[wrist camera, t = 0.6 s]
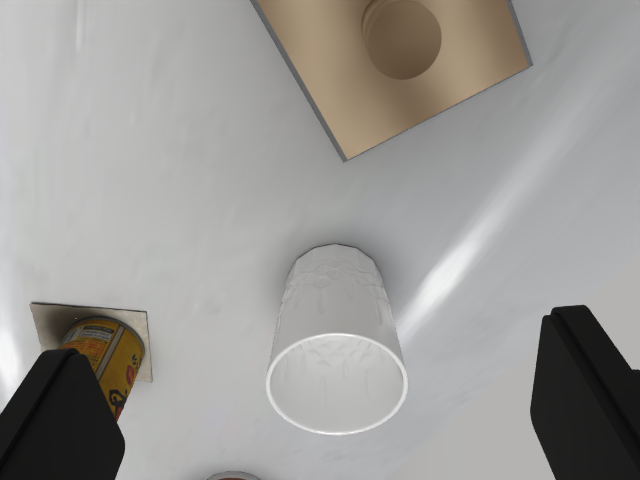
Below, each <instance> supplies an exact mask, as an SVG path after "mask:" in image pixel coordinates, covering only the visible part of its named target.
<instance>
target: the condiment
mask: <svg viewBox="0 0 640 480" xmlns="http://www.w3.org/2000/svg"><path fill="white" fill-rule="evenodd" d="M29 305H30V308H31V312H32V313H33V318H34V321H35V326H36V329H37V332H38V337H39V342H40V344H41V351H42V352H44V351H46V350H51V349H63V348H75V349H77V350H78V351H79V353H80V354H84V355H86V356H87V358H88V360H89V362H90V364H91V366H92V368H93V371H94V373H95V375H96V377H97V380H98V382H99V384H100V386H101V388H102V391H103V393H104V395H105V397H106V399H107V402H108V404H109V406H110V408H111V411H112V413H113V415H114V417H115V419H116V422H117V421H118V419H119V416H120V414H121V412H122V410H123V408H124V404H125V403H126V400H127V397H128V395H129V393H130V391H131V389H132V387H133V384H134V381H135V380H140V381H148V382H151V383H152V374H151V359H150V348H149V338H148V329H147V320H146V313H144V312H134V311H125V310H113V309H104V308H102V309H99V308H86V307H83V308H75V307H70V306H59V305H38V304H29ZM75 318H77V319H75Z"/></svg>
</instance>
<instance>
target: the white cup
mask: <svg viewBox="0 0 640 480" xmlns="http://www.w3.org/2000/svg"><path fill="white" fill-rule="evenodd" d="M407 390H408V377H407V372H406V368H405V364H404V360H403V356H402V352H401V348H400V344H399V339H398V335H397V331H396V327H395V323H394V319H393V315H392V312H391V309H390V304H389V301H388V297H387V294H386V292H385V289H384V285H383V281H382V277H381V275H380V273H379V271H378V269H377V267H376V265H375V263H374V261H373V260H372V259H371V258H369V257H368V256H367V255H365V254H364V253H362V252H361V251H359V250H358V249H357V248H352V247H347V246H342V245H337V244H333V245H327V246H322V247H317V248H313V249H312V250H310V251H309V252H307V253H306V254H304V255H303V256H301V257H300V258H298V259H297V260H296V262H295V264H294V266H293V267H292V269H291V271H290V273H289V275H288V278H287V283H286V289H285V293H284V296H283V299H282V302H281V307H280V313H279V316H278V320H277V324H276V329H275V335H274V340H273V345H272V351H271V356H270V361H269V366H268V371H267V376H266V392H267V396H268V399H269V401H270V403H271V405H272V406H273V408H274V409H275V410H276V411H277V413H278V414H279V415H280V416H282V417H283V418H284V419H285V420H287V421H288V422H290V423H291V424H293V425H295V426H297V427H299V428H301V429H304V430H307V431H310V432H314V433H318V434H324V435H349V434H355V433H360V432H363V431H366V430H369V429H372V428H374V427H376V426H378V425H380V424H382V423H384V422H385V421H387V420H388V419H389V418H391V417H392V416H393V415H394V414H395V413H396V412H397V411H398V409H399V408H400V407H401V405H402V404H403V402H404V400H405V397H406V395H407Z"/></svg>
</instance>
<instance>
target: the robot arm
mask: <svg viewBox="0 0 640 480" xmlns="http://www.w3.org/2000/svg"><path fill="white" fill-rule="evenodd" d="M530 414H531V420H532V424H533V427H534V429H535V432H536V434H537V437H538V439H539V441H540V444H541V446H542V448H543V450H544V453H545V455H546V458H547V460H548V462H549V465H550V467H551V469H552V472H553V474H554V477H555V479H556V480H640V370H632V369H631V368H630V366H629V365H628V363H627V362H626V361H625V359H624V358H623V356H622V355H621V354H620V352H619V351H618V349H617V348H616V347H615V346H614V344H613V342H612V341H611V339H610V338H609V337H608V335H607V334H606V332H605V331H604V330H603V328H602V327H601V325H600V324H599V322H598V321H597V319H596V318H595V317H594V315H593V314H592V312H591V311H590V310H589V308H588V307H587V306H585V305H575V306H563V307H555V308H553V309H552V311H551V315H545V316H544V317H543V319H542V325H541V332H540V340H539V347H538V355H537V362H536V370H535V377H534V384H533V392H532V400H531V407H530ZM124 452H125V440H124V437H123V435H122V433H121V430H120V428H119V426H118V424H117V422H116V419H115V417H114V415H113V413H112V411H111V408H110V406H109V404H108V402H107V399H106V397H105V395H104V393H103V391H102V388H101V386H100V384H99V382H98V380H97V377H96V375H95V373H94V371H93V368H92V366H91V364H90V362H89V360H88V358H87V356H86V355H84V354H80V353H79V351H78V350H77V349H75V348H63V349H51V350H46V351H44V352H42V354H41V355H40V356H39V357H38V359H37V360H36V362H35V363H34V365H33V366H32V368H31V369H30V371H29V372H28V374H27V375H26V377H25V378H24V380H23V381H22V383H21V384H20V386H19V387H18V389H17V390H16V392H15V393H14V395H13V396H12V398H11V399H10V401H9V402H8V404H7V405H6V407H5V408H4V410H3V412H2V413H1V415H0V480H115V478H116V475H117V472H118V470H119V467H120V464H121V462H122V459H123V456H124Z"/></svg>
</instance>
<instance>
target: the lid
mask: <svg viewBox="0 0 640 480" xmlns="http://www.w3.org/2000/svg"><path fill="white" fill-rule="evenodd" d="M257 2H258V3H259V5H260V7H261V9H262V10H263V12H264V14H265V16H266V17H267V19H268V21H269V23H270V24H271V26H272V28H273V30H274V31H275V33H276V35H277V37H278V38H279V40H280V42H281V44H282V45H283V47H284V49H285V51H286V52H287V54H288V56H289V58H290V59H291V61H292V63H293V65H294V66H295V68H296V70H297V72H298V73H299V75H300V77H301V79H302V80H303V82H304V84H305V86H306V88H307V89H308V91H309V93H310V95H311V96H312V98H313V100H314V102H315V103H316V105H317V107H318V109H319V110H320V112H321V114H322V116H323V117H324V119H325V121H326V123H327V124H328V126H329V128H330V130H331V131H332V133H333V135H334V137H335V138H336V140H337V142H338V144H339V145H340V147H341V149H342V151H343V152H344V154H345V156H346V158H347V159H350V158H352V157H354V156H356V155H358V154H360V153H362V152H364V151H366V150H368V149H370V148H372V147H374V146H376V145H378V144H379V143H381V142H383V141H385V140H387V139H389V138H391V137H393V136H395V135H397V134H399V133H401V132H403V131H405V130H407V129H409V128H411V127H412V126H414V125H416V124H418V123H420V122H422V121H424V120H426V119H428V118H430V117H432V116H434V115H436V114H438V113H440V112H442V111H443V110H445V109H447V108H449V107H451V106H453V105H455V104H457V103H459V102H461V101H463V100H465V99H467V98H469V97H471V96H473V95H475V94H476V93H478V92H480V91H482V90H484V89H486V88H488V87H490V86H492V85H494V84H496V83H498V82H500V81H502V80H504V79H506V78H507V77H509V76H511V75H513V74H515V73H517V72H519V71H521V70H523V69H525V68H527V67H529V65H528V63H527V60H526V57H525V54H524V51H523V48H522V45H521V43H520V40H519V37H518V34H517V31H516V28H515V25H514V22H513V20H512V17H511V14H510V11H509V8H508V5H507V2H506V0H257Z"/></svg>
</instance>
